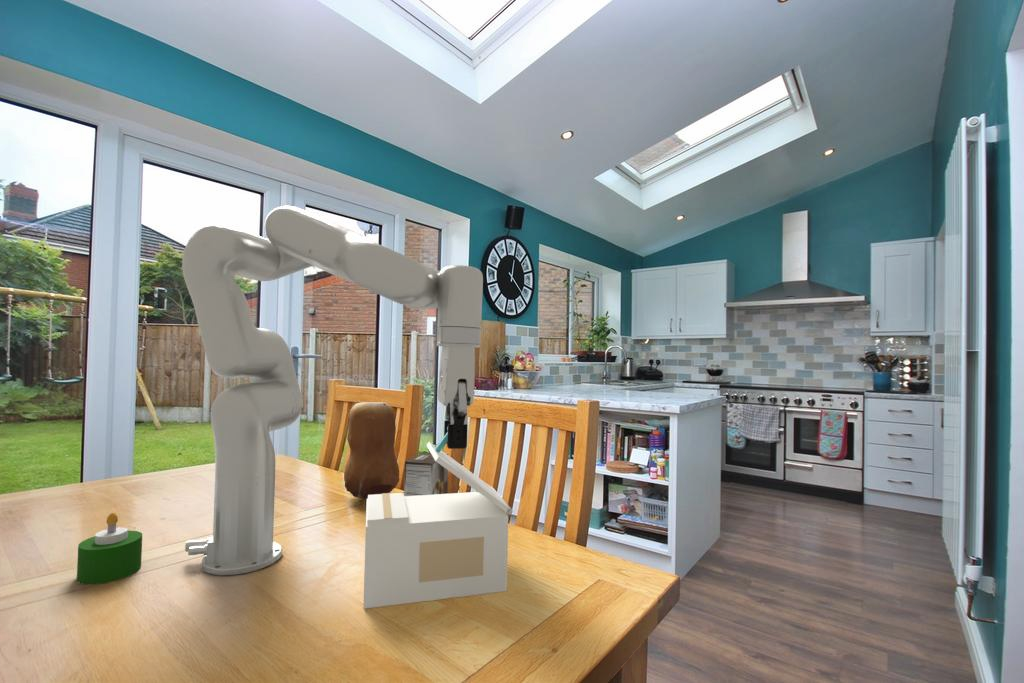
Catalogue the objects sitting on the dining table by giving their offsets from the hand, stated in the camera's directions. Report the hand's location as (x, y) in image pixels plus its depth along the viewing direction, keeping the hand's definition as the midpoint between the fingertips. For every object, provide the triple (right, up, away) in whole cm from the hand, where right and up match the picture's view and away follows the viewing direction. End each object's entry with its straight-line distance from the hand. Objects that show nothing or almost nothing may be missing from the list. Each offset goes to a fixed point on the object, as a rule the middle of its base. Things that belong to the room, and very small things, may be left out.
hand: (454, 444), depth 82 cm
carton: (-4, -22, -1) cm, 23 cm away
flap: (+2, -6, 0) cm, 6 cm away
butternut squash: (-26, -23, +41) cm, 54 cm away
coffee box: (-8, -23, +18) cm, 30 cm away
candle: (-58, -21, -2) cm, 62 cm away
